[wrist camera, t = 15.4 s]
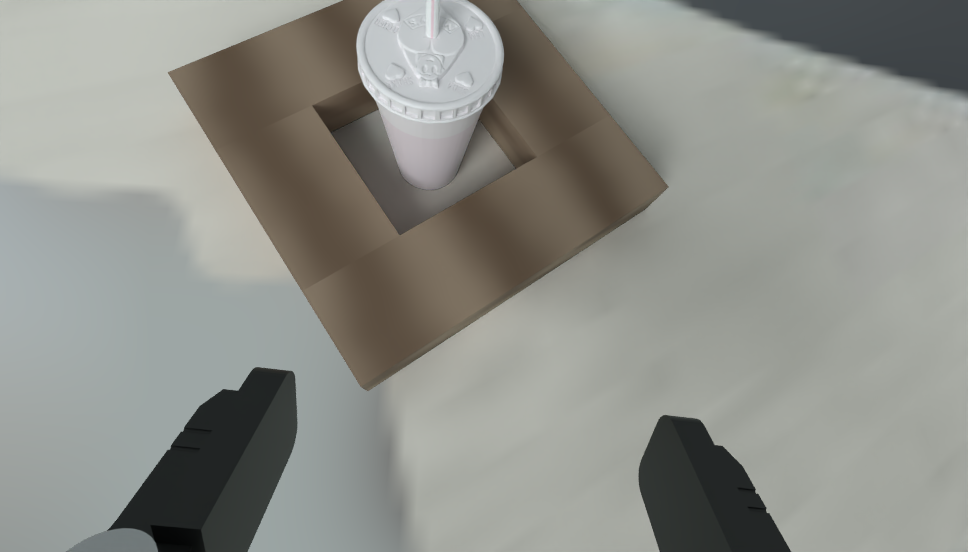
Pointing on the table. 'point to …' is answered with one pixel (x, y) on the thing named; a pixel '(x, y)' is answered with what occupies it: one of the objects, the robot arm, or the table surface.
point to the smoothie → (429, 80)
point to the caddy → (442, 238)
